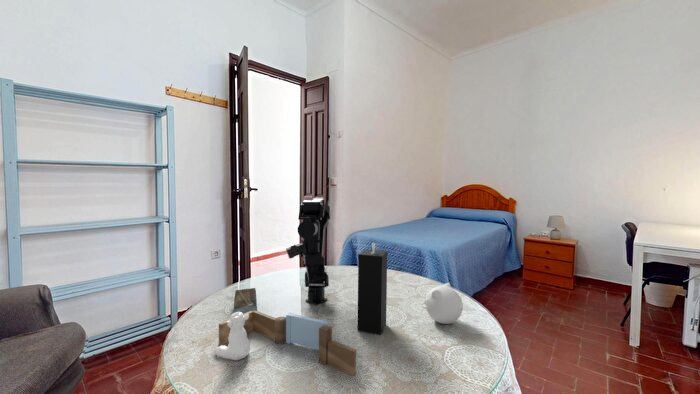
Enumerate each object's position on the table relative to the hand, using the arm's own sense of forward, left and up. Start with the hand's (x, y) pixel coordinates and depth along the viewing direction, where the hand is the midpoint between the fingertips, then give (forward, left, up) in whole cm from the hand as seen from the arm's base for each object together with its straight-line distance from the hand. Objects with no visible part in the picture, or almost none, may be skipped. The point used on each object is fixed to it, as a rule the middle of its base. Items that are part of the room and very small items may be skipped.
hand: (310, 281), depth 105 cm
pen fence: (+22, +10, -13) cm, 27 cm away
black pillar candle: (-6, +21, -13) cm, 26 cm away
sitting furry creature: (+29, -1, -13) cm, 32 cm away
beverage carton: (+10, -22, -13) cm, 28 cm away
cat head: (-24, +39, -13) cm, 48 cm away
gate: (+15, +13, -13) cm, 23 cm away
